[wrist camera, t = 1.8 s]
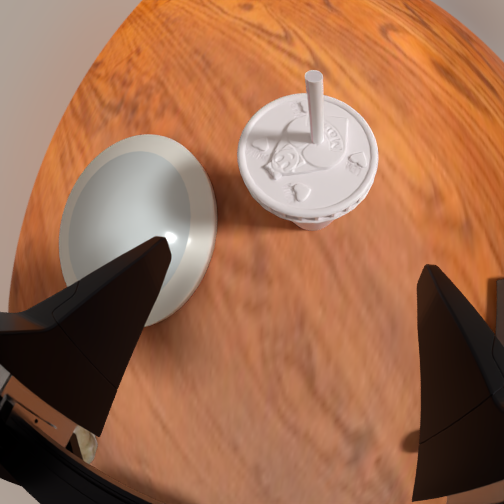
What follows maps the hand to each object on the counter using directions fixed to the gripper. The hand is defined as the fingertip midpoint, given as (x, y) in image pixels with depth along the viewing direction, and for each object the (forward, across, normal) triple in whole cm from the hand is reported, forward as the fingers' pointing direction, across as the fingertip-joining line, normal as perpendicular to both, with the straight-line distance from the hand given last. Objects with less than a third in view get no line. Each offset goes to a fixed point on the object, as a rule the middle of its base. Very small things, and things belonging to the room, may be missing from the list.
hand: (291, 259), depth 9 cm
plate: (+10, +16, +7) cm, 20 cm away
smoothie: (+12, 0, +5) cm, 13 cm away
